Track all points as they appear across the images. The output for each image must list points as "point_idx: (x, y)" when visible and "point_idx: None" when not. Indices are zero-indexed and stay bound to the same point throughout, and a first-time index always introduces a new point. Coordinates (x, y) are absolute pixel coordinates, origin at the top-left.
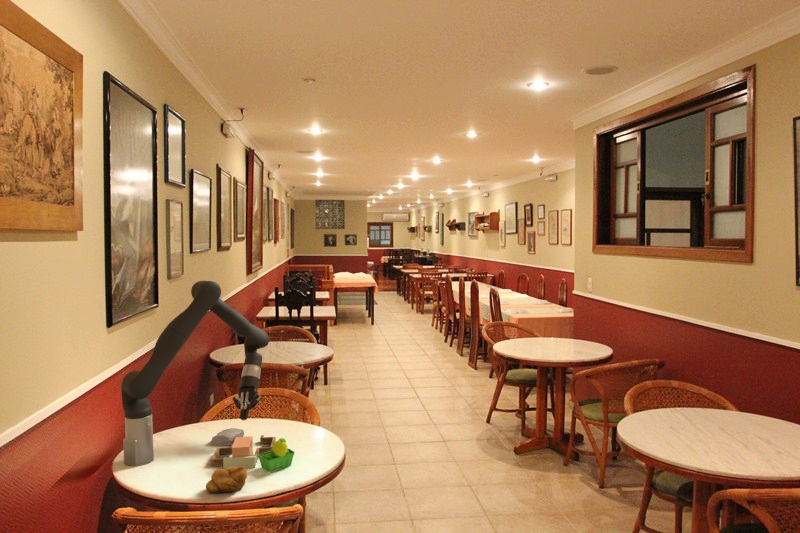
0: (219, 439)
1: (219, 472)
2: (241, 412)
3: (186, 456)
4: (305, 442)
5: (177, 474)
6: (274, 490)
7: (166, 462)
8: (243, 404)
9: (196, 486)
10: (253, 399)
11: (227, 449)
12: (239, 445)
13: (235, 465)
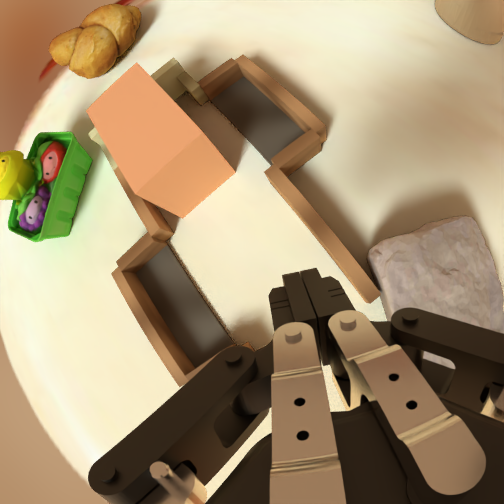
0: (433, 227)
1: (95, 9)
2: (329, 296)
3: (411, 78)
4: (109, 422)
5: (290, 4)
6: (35, 115)
7: (407, 29)
8: (346, 359)
9: (184, 10)
10: (171, 432)
11: (282, 153)
12: (123, 91)
13: None
